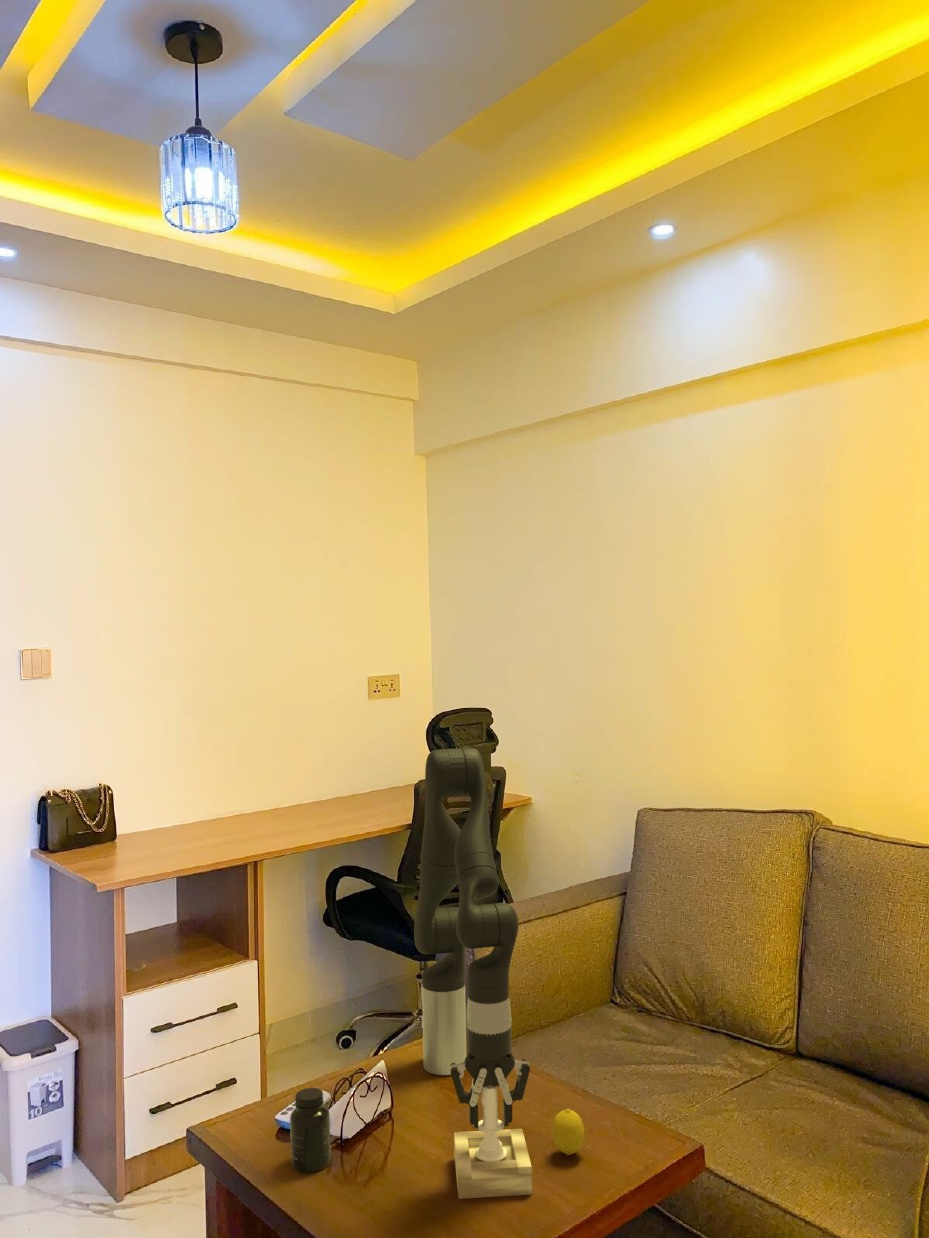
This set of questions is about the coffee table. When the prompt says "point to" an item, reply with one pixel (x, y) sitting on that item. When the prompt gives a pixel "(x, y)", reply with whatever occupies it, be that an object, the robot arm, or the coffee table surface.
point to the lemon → (568, 1131)
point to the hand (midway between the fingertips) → (490, 1124)
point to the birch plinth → (492, 1166)
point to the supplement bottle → (310, 1132)
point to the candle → (490, 1127)
